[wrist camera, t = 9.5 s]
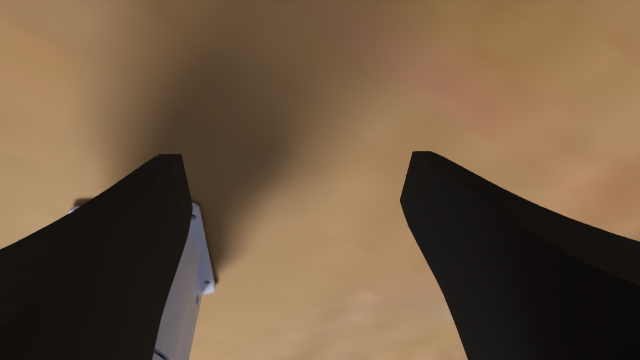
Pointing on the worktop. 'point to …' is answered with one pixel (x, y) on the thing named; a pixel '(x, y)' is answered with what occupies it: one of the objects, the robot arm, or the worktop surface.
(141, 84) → the worktop surface
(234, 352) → the worktop surface
